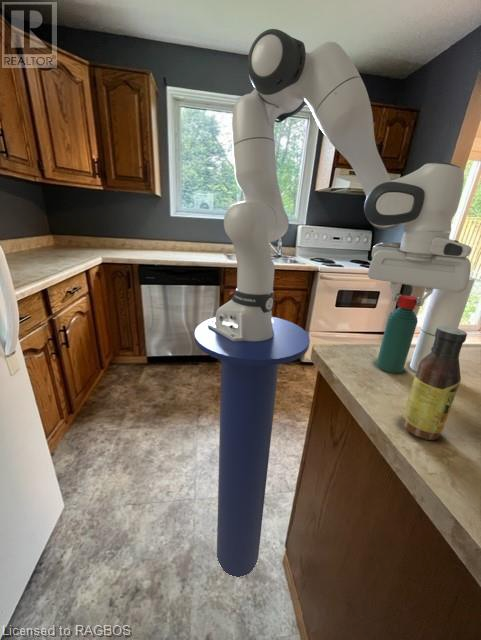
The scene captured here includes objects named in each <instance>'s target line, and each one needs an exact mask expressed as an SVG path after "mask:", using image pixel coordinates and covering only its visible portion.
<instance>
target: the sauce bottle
mask: <svg viewBox="0 0 481 640" xmlns="http://www.w3.org/2000/svg"><path fill="white" fill-rule="evenodd" d="M467 337H468V332H466V331H464V330H463V329H459V328H458V329H456V328H452V327H446V326H440V327H437V330H436V333H435V341H434V344H433V347H432V348H431V351H432V352H431V353H430V354H428V355H427V356H425V357H424V358H423V359H422V360H421V361H420V363H419V365H418V369H417V372H415V374H414V378H413V381H412V384H411V387H410V391H409V394H408V398H407V401H406V405H405V408H404V411H403V418H402V425H403V427H404V428H405V430H406V431H408V432H409V433H410V434H412V435H413V436H415V437H417V438H420V439H422V440H427V441H434V440H436V439H438V438H439V437H440V436H441V433H442V432H443V430H444V428H445V426H446V422H447V420H448V416H449V414H450V411H451V409H452V406H453V403H454V400H455V397H456V395H457V393H458V392H457V391H458V389H459V386H460V383H461V380H462V377H461V368H460V366H461V365H460V354H461V350H462V348H463V344H464V343H465V342H466V340H467Z"/></svg>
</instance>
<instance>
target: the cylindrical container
mask: <svg viewBox="0 0 481 640" xmlns="http://www.w3.org/2000/svg"><path fill="white" fill-rule="evenodd" d="M475 280H476V278H474V277H471V276H470V278H469V282H468V286H467V289H466V290H465V291H463V292H461V293H458V292H452V291H445V290H439V289H434V290H433V292H432V294H431V295H430V296H429V297H430V298H429V301H428V304H427V307H426V311H425V314H424V317H423V321H422V324H421V327H420V331H419V334H418V338H417V341H416V344H415V348H414V351H413V354H412V357H411V360H410V364H409V367H410V369H411V370H412V371H414V372H415V373H417V369H418V365H419V363H420V361H421V360H422V359H423V358H424V357H425V356H427V355H428V354H430V353H431V352H432V351H431V348H432V347H433V344H434V341H435V333H436V330H437V327H440V326H446V327H452V328H456V329H459V326H460V324H461V320H462V317H463V315H464V313H465V309H466V307H467V303H468V300H469V299H470V295H471V292H472V290H473V286H474V284H475Z"/></svg>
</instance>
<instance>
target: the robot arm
mask: <svg viewBox="0 0 481 640" xmlns="http://www.w3.org/2000/svg"><path fill="white" fill-rule="evenodd" d="M247 73H248V77H249V80H250V82H251V84H252V86H253V89H252V91H251V92H250V93H247V94H244V95H242V96H240V97H239V98H238V99H237V100H236V101H235V103H234V105H233V110H232V119H231V120H232V121H231V141H232V142H231V144H232V155H233V156H232V157H233V166H234V168H233V169H234V178H235V181H236V185H238V187H239V189H240V190H241V193H242V195H243V198H244V200H242V201H239V202H236V203H233V204H232V205H230V206H229V207H228V209H227V210H226V211H225V213H224V218H223V229H224V231H225V234H226V235H227V237H228V238H229V239H230V241H231V243H232V245H233V250H234V254H235V258H236V267H237V268H236V270H237V271H236V288H235V289H232V290H229V292H230V293H229V295H232V297H231V299H230V300H229V301H227V302H226V303H224V304H222V305H221V306H220V307H218V308H217V309H216V312H215V316H214V318H215V319H214V320H212V321H211V322H209V324H208V327H209V328H211V329H213V330H215V331H216V332H218V333H220V334H221V335H223V336H225V337H227V338H228V339H230V340H232V341H264V340H268V339H270V338H272V337H273V336H274V331H273V326H272V323H273V319H272V317H273V315H272V313H273V312H272V311H273V307H274V296H275V294H274V293H275V292H274V282H275V281H274V280H275V269H276V267H275V263H274V262H273V259H272V255H271V250H270V243H274V242H276V241H277V240H280V239H281V238H282V237H284V235H285V234H286V233H287V231H288V229H289V225H290V220H289V216H288V214H287V213H286V211H285V208H284V203H283V198H282V194H281V190H280V186H279V181H278V175H277V163H276V162H277V161H276V160H277V159H276V146H275V123H282V122H283V121H285V120H287V119H288V118H291V117H293V116H295V115H296V114H298V113H299V112H301V111H302V110H303V109H304V107H305V106H306V105H308V107H309V109H310V111H311V113H312V116H313V118H314V119H315V122H316V124H317V126H318V127H319V129H320V131H321V132H322V133H323V135H324V136H325V138H326V139H327V140H328V142H329V143H330V144H331V145H332V146H333V147H334V149H335V150H337V151H338V152H339V153H340V154H341V156H343V158H344V159H345V160H346V161H347V162H348V163H349V165H350V167H351V168H352V170H353V172H354V173H355V176H356V178H357V180H358V182H359V184H360V186H361V188H362V191H363V193H364V194H365V201H364V203H363V212H364V215H365V218H366V219H367V221H369V223H370V224H371V225H372V227H375V228H376V229H379V230H391V229H393V228H394V229H395V228H396V227H399V226H400V225H403V226H404V227H403V232H402V236H401V241H400V242H387V241H381V242H379V243H376V244H375V245H374V246H373V247H372V250H371V262H370V264H369V267H368V271H367V276H368V278H369V280H375V281H379V282H387V283H389V284H390V285H389V288H390V291H391V293H392V298H391V302H397V303H398V302H399V298H400V296H401V295H402V294H401V293H399V292H398V290H397V287H398V286H399V284H400V285H406V286H412V287H413V286H414V287H420V288H425V290H424V293H425V294H424V295H423V296H422V297H420V296H418V297H416V298H417V300H416V301H417V302H416V304H415V305H416V306H418V307H424V304H425V302H426V299H427V298H429V297H430V296H431V294H432V292H433V290H434V289H439V290H445V291H452V292H458V293H461V292H463V291H465V290H466V289H467V286H468V282H469V278H470V277H471V270H472V269H471V268H472V262H471V261H470V258H468V257H469V256H470V255H471V253H472V247H471V246H470V245H468V244H466V243H462V242H460V241H459V240H456V239H451V238H450V236H451V232H452V221H453V218H454V217H455V214H456V213H457V212H458V208H459V205H460V200H461V197H462V193H463V188H464V181H465V174H464V171H463V169H462V168H461V167H460V166H459V165H456V164H454V163H449V162H441V161H437V162H427V163H425V164H423V165H422V166H420V168H418V169H416V170H414V171H412V172H410V173H408V174H406V175H403V176H401V177H399V178H395V179H391V177H390V174H389V173H388V171H387V168H386V166H385V164H384V162H383V160H382V158H381V155H380V153H379V150H378V147H377V143H376V138H375V137H376V136H375V128H374V127H375V126H374V116H373V110H372V106H371V100H370V98H369V94H368V91H367V87H366V85H365V83H364V80H363V79H362V76H361V75H360V73H359V70H358V68H357V67H356V66H355V64H354V62H353V61H352V59H351V58H350V56H349V55H348V54H347V52H346V51H345V50H344V49H343V48H342V46H341V45H340V44H339V43H337V42H336V41H325V42H324V43H321V44H320V45H318V46H316V48H315V49H313V50H312V51H310V52H307V51H306V46H305V43H304V42H303V41H302V40H300V39H297V38H295V37H292V36H291V35H289V34H288V33H287V32H285V31H283V30H280V29H278V28H268V29H266V30H264V31H262V32H261V33H259V35H258V36H257V37H256V38H255V39H254V41H253V43H252V44H251V46H250V49H249V51H248V55H247Z"/></svg>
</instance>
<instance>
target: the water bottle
mask: <svg viewBox="0 0 481 640" xmlns="http://www.w3.org/2000/svg"><path fill="white" fill-rule="evenodd" d="M417 325H418V317H417V315H416V314H415V311H414V309H405V308H401V307H399V306H397V308H395V309H394V310H392V311H391V312H390V313H389V314H388V316H387V320H386V324H385V328H384V331H383V332H384V333H383V336H382V339H381V344H380V348H379V351H378V355H377V360H376V362H375V363H376V366H377V368H379V369H380V370H382V371H384V372H387V373H390V374H401V373H403V372H404V369H405V365H406V361H407V358H408V356H409V352H410V349H411V345H412V342H413V339H414V335H415V332H416V328H417Z"/></svg>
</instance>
